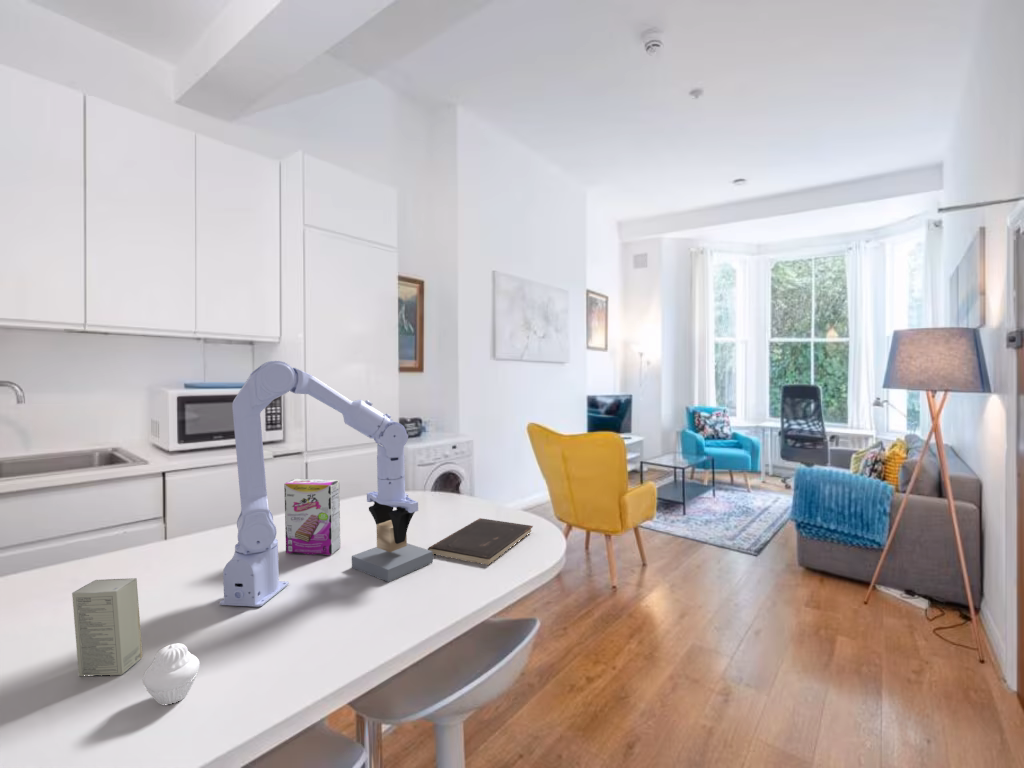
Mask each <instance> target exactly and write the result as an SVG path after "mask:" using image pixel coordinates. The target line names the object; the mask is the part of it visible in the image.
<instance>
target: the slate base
mask: <svg viewBox="0 0 1024 768" xmlns="http://www.w3.org/2000/svg"><path fill="white" fill-rule="evenodd" d="M433 560H434V557H433V551H430V550H428V548H427V549H426V548H424V547H421V546H417V545H413V544H411V543H408V542H407V546H405V547H403V548H400V549H397V550H395V551H392V552H388V551H385V550H382V549H379V548H377V546H375V547H373V548H370V549H367V550H364V551H362V552H359V553H356V554H353V555H351V568H353V569H354V570H356V571H360V572H363V573H364V572H365V574H367V575H369V574H370V576H371V577H374V576H375V577H374V578H378V579H379V578H380V579H379V580H383V581H384V580H385V582H388V583H390V582H392V581H395V580H396V578H397V579H399V578H401V577H404V576H405V574H406V575H408V574H410V573H413V572H415V571H417V570H420V569H422V568H424V567H426V566H428V565H427V564H429V565H430V563H431V564H433V563H434V561H433ZM432 562H433V563H432ZM425 565H426V566H425ZM423 566H424V567H423ZM421 567H422V568H421ZM414 570H415V571H414ZM412 571H413V572H412ZM407 573H408V574H407ZM403 575H404V576H403ZM394 579H395V580H394Z"/></svg>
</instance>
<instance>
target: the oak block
mask: <svg viewBox="0 0 1024 768" xmlns="http://www.w3.org/2000/svg"><path fill="white" fill-rule="evenodd" d="M375 524H376V523H375ZM407 537H408V535H407V533H406V537H405V541H404V542H401V543H399V544H396V543H395V540H394V530H393V524H392V521H391V520H389V521H386V522H383V523H380V524H376V547H377V548H379V549H382V550H385V551H388V552H392V551H395V550H397V549H400V548H403V547H405V546H407V543H408V542H407V540H408V538H407Z"/></svg>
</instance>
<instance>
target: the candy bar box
mask: <svg viewBox="0 0 1024 768" xmlns="http://www.w3.org/2000/svg"><path fill="white" fill-rule="evenodd" d="M283 491H284V515H285V516H284V517H285V518H284V520H285V523H284V525H285V531H284V532H285V554H292V555H293V554H294V555H316V556H333V555H334V554H335V553H336V552H337V551H338V550H340V548H341V515H340V514H341V513H340V511H341V510H340V509H341V508H340V506H341V504H340V480H338V479H317V478H315V479H312V478H293V479H291V480H289V481H286V482H285V483H284V490H283Z"/></svg>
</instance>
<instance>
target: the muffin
mask: <svg viewBox="0 0 1024 768" xmlns="http://www.w3.org/2000/svg"><path fill="white" fill-rule="evenodd" d="M199 669H200V659H199V658H198V657H197V656H196V655H195V654H193V653H191V652H190V651H189V650H188V647H187V646H186V645H185V644H184V643H179V642H178V643H172V644H168V645H166V646H165V645H164V647H162V648H160V649H159V651H158V652H157V653H156V654H155V657H154V660H153V661H152V664H150V665H149V666H148V668H147V669H146V670H145V672H144V674H143V677H142V683H143V686H144V687H145V689H146V692H148V694H149V695H150V696H151V697H152V698H153V699H154V701H156V702H157V704H159V703H160V704H164V705H163V706H169V705H168V704H171V705H173V704H172V703H174V704H177V703H178V701H179V702H180V701H183V699H185V698H186V697H187V695H189V692H190V690H191V688H192V685H193V684H194V681H195V680H196V678H197V675H198V671H199ZM176 702H177V703H176ZM160 704H159V705H160ZM165 704H167V705H165Z"/></svg>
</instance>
